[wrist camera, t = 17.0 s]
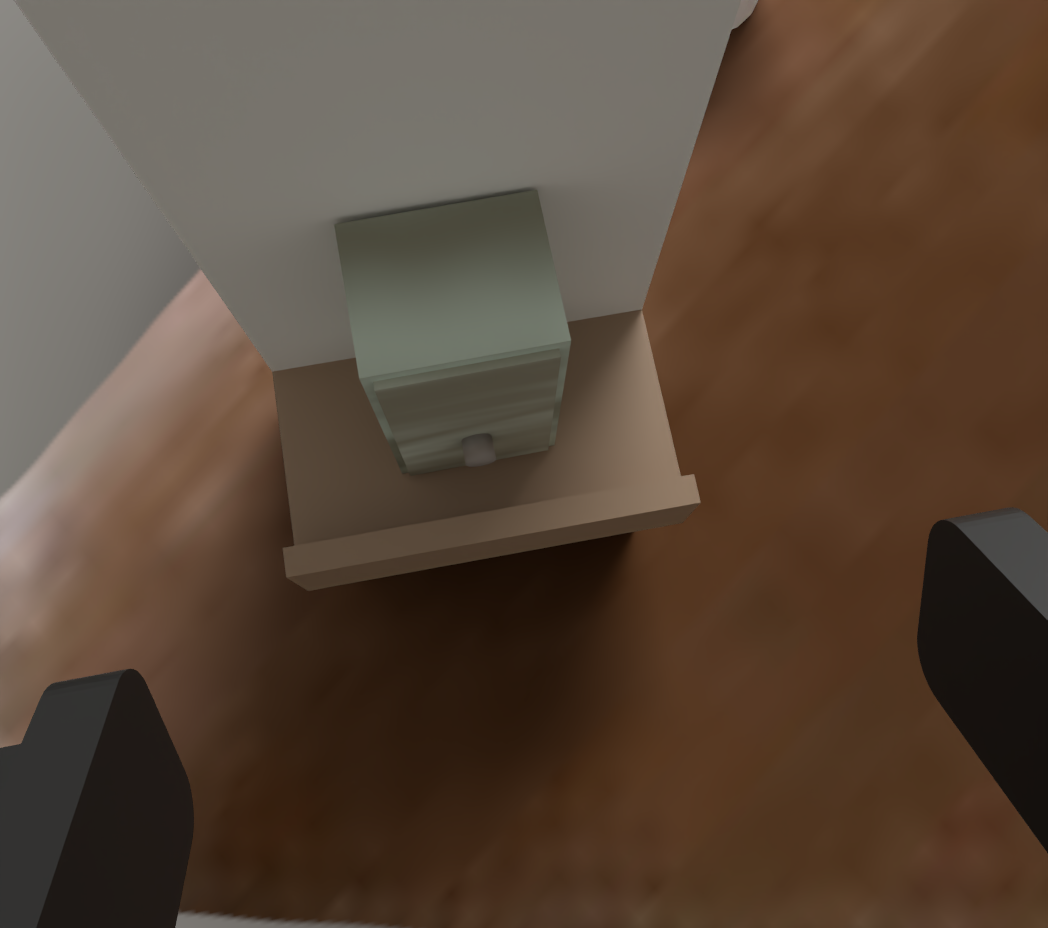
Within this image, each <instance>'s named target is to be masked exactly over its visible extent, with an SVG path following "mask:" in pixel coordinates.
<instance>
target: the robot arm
mask: <svg viewBox="0 0 1048 928" xmlns="http://www.w3.org/2000/svg"><path fill="white" fill-rule="evenodd" d="M917 644H918V653H919V658H920V663H921V666H922V670H923V672H924V675H925V678H926V680H927V683H928V685H929V687H930V689H931V691H932V692H933V694H934V696H935V697H936V699H937V700H938V701H939V703H940V704H941V706H942V707H943V708H944V710H945V711H946V713H947V714H948V715H949V717H950V718H951V719H952V721H953V722H954V724H955V725H956V726H957V728H958V729H959V731H960V732H961V733H962V735H963V736H964V738H965V739H966V740H967V742H968V743H969V744H970V746H971V747H972V749H973V750H974V751H975V753H976V754H977V756H978V757H979V758H980V760H981V761H982V763H983V764H984V765H985V767H986V768H987V769H988V771H989V772H990V774H991V775H992V776H993V778H994V779H995V781H996V782H997V783H998V785H999V786H1000V787H1001V789H1002V790H1003V792H1004V793H1005V794H1006V796H1007V797H1008V799H1009V800H1010V801H1011V803H1012V804H1013V806H1014V807H1015V808H1016V810H1017V811H1018V812H1019V814H1020V815H1021V817H1022V818H1023V819H1024V821H1025V822H1026V824H1027V825H1028V826H1029V828H1030V829H1031V830H1032V832H1033V833H1034V835H1035V836H1036V837H1037V839H1038V840H1039V842H1040V843H1041V844H1042V846H1043V847H1044V849H1045V850H1046V851H1047V853H1048V533H1047V532H1046V531H1045V530H1044V529H1043V528H1042V527H1041V526H1040V525H1039V524H1037V523H1036V522H1035V521H1034V520H1033V519H1032V518H1031V517H1030V516H1029V515H1027V514H1026V513H1025V512H1023V511H1021V510H1020V509H1017V508H1013V507H1012V508H1004V509H999V510H993V511H988V512H982V513H977V514H972V515H966V516H961V517H956V518H950V519H945V520H940V521H938V522H936V523H935V524H934V526H933V527H932V529H931V531H930V534H929V539H928V546H927V555H926V564H925V572H924V581H923V590H922V598H921V607H920V616H919V625H918V634H917ZM193 828H194V813H193V800H192V794H191V789H190V784H189V781H188V777H187V775H186V772H185V770H184V767H183V765H182V763H181V761H180V758H179V756H178V754H177V752H176V749H175V747H174V745H173V743H172V740H171V738H170V736H169V734H168V731H167V729H166V727H165V725H164V722H163V720H162V718H161V716H160V713H159V711H158V709H157V707H156V704H155V702H154V700H153V698H152V695H151V693H150V691H149V689H148V686H147V684H146V682H145V680H144V679H143V677H142V676H141V674H140V673H139V672H138V671H136V670H134V669H126V670H121V671H115V672H110V673H104V674H99V675H94V676H88V677H83V678H78V679H72V680H67V681H61V682H56V683H53V684H51V685H50V686H48V687H47V689H46V690H45V691H44V693H43V695H42V696H41V699H40V701H39V703H38V706H37V708H36V710H35V713H34V715H33V717H32V720H31V722H30V724H29V727H28V729H27V731H26V734H25V736H24V738H23V741H22V743H21V744H19V745H13V746H8V747H3V748H0V928H175V926H176V920H177V915H178V910H179V905H180V900H181V895H182V890H183V885H184V880H185V875H186V869H187V864H188V859H189V854H190V849H191V844H192V838H193Z"/></svg>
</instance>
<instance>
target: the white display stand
mask: <svg viewBox="0 0 1048 928" xmlns="http://www.w3.org/2000/svg"><path fill="white" fill-rule="evenodd" d="M14 1H15V2H16V4H17V5H18V7H19V8H20V10H21V11H22V12H23V14H24V15H25V17H26V18H27V20H28V21H29V22H30V24H31V25H32V27H33V28H34V29H35V31H36V33H37V34H38V35H39V37H40V38H41V40H42V41H43V43H44V44H45V45H46V47H47V48H48V50H49V51H50V53H51V54H52V56H53V57H54V59H55V60H56V61H57V63H58V64H59V66H60V67H61V68H62V70H63V71H64V72H65V74H66V76H67V77H68V79H69V80H70V82H71V83H72V84H73V86H74V87H75V89H76V90H77V92H78V93H79V94H80V96H81V97H82V99H83V100H84V102H85V103H86V105H87V106H88V107H89V109H90V110H91V111H92V113H93V115H94V116H95V117H96V119H97V120H98V122H99V123H100V125H101V126H102V127H103V129H104V130H105V132H106V133H107V135H108V136H109V138H110V139H111V140H112V142H113V143H114V145H115V146H116V148H117V149H118V151H119V152H120V153H121V155H122V156H123V158H124V159H125V160H126V162H127V163H128V165H129V166H130V168H131V169H132V171H133V172H134V174H135V175H136V176H137V178H138V179H139V181H140V182H141V184H142V185H143V186H144V188H145V189H146V191H147V192H148V194H149V195H150V197H151V198H152V199H153V201H154V202H155V204H156V205H157V207H158V208H159V209H160V211H161V212H162V214H163V215H164V217H165V218H166V220H167V221H168V222H169V224H170V225H171V227H172V228H173V230H174V231H175V232H176V234H177V235H178V237H179V238H180V239H181V241H182V242H183V244H184V245H185V247H186V248H187V250H188V251H189V252H190V254H191V255H192V257H193V258H194V260H195V261H196V263H197V264H198V266H199V267H200V268H201V270H202V271H203V273H204V274H205V276H206V277H207V278H208V280H209V281H210V283H211V284H212V286H213V287H214V289H215V290H216V291H217V293H218V294H219V296H220V297H221V299H222V300H223V301H224V303H225V304H226V306H227V307H228V309H229V310H230V312H231V313H232V314H233V316H234V317H235V319H236V320H237V322H238V323H239V324H240V326H241V327H242V329H243V330H244V332H245V333H246V335H247V336H248V337H249V339H250V340H251V342H252V343H253V345H254V346H255V347H256V349H257V350H258V352H259V353H260V355H261V356H262V358H263V359H264V360H265V362H266V363H267V365H268V366H269V368H270V369H271V370H272V373H273V381H274V389H275V397H276V405H277V413H278V421H279V429H280V436H281V444H282V452H283V460H284V468H285V476H286V484H287V492H288V500H289V508H290V516H291V524H292V531H293V539H294V546H291V547H285V548H283V555H284V564H285V572H286V578H288V579H289V580H291V581H293V582H294V583H296V584H298V585H299V586H301V587H302V588H304V589H306V590H307V591H311V590H317V589H322V588H328V587H333V586H339V585H344V584H350V583H355V582H361V581H366V580H371V579H377V578H382V577H388V576H393V575H399V574H404V573H410V572H415V571H421V570H426V569H432V568H437V567H443V566H448V565H454V564H459V563H465V562H470V561H476V560H481V559H487V558H492V557H498V556H503V555H509V554H514V553H520V552H525V551H531V550H536V549H542V548H547V547H553V546H558V545H564V544H569V543H574V542H580V541H585V540H591V539H596V538H602V537H607V536H613V535H618V534H624V533H629V532H635V531H640V530H646V529H651V528H657V527H662V526H668V525H673V524H679V523H683V522H684V521H685V520H686V518H687V517H688V516H689V515H690V514H691V513H692V512H693V511H694V509H695V508H696V507H697V506H698V505H699V504H700V503H701V502H700V498H699V493H698V489H697V485H696V481H695V477H694V474H692V475H687V476H681V475H680V470H679V466H678V462H677V458H676V453H675V449H674V445H673V441H672V436H671V432H670V428H669V423H668V419H667V415H666V411H665V406H664V402H663V398H662V394H661V389H660V385H659V381H658V377H657V372H656V368H655V364H654V360H653V355H652V351H651V347H650V343H649V338H648V334H647V330H646V326H645V321H644V317H643V313H642V307H643V304H644V301H645V298H646V295H647V292H648V288H649V285H650V282H651V279H652V276H653V273H654V270H655V267H656V263H657V260H658V257H659V254H660V251H661V248H662V245H663V242H664V239H665V235H666V232H667V229H668V226H669V223H670V220H671V217H672V214H673V211H674V207H675V204H676V201H677V198H678V195H679V192H680V189H681V186H682V183H683V179H684V176H685V173H686V170H687V167H688V164H689V161H690V158H691V155H692V151H693V148H694V145H695V142H696V139H697V136H698V133H699V130H700V127H701V123H702V120H703V117H704V114H705V111H706V108H707V105H708V102H709V99H710V95H711V92H712V89H713V86H714V83H715V80H716V77H717V74H718V70H719V67H720V64H721V61H722V58H723V55H724V52H725V49H726V46H727V42H728V39H729V36H730V33H731V30H732V27H733V24H734V21H735V18H736V14H737V11H738V8H739V5H740V2H741V0H14ZM533 190H537V191H538V195H539V200H540V204H541V209H542V213H543V217H544V222H545V226H546V231H547V235H548V240H549V244H550V249H551V253H552V257H553V262H554V266H555V271H556V275H557V280H558V284H559V289H560V293H561V297H562V302H563V306H564V311H565V315H566V320H567V324H568V329H569V333H570V337H571V345H570V351H569V357H568V363H567V370H566V376H565V382H564V389H563V395H562V401H561V407H560V414H559V420H558V426H557V432H556V439H555V445H553V446H549V448H548V450H547V451H542V452H536V453H531V454H526V455H520V456H515V457H510V458H504V459H499V460H496V461H494V462H493V463H490V464H487V465H484V466H478V467H469V466H462V467H456V468H451V469H445V470H440V471H435V472H429V473H424V474H419V475H413V476H410V474H409V473H403V474H402V472H401V470H400V468H399V466H398V463H397V461H396V459H395V457H394V455H393V452H392V450H391V448H390V446H389V443H388V441H387V439H386V437H385V435H384V432H383V430H382V428H381V426H380V424H379V421H378V419H377V417H376V415H375V412H374V410H373V408H372V406H371V404H370V401H369V399H368V397H367V395H366V393H365V390H364V388H363V386H362V384H361V382H360V379H359V374H358V368H357V362H356V356H355V350H354V344H353V337H352V331H351V325H350V319H349V313H348V307H347V301H346V294H345V288H344V282H343V276H342V270H341V264H340V258H339V251H338V245H337V239H336V233H335V227H334V224H338V223H344V222H350V221H356V220H362V219H368V218H374V217H380V216H386V215H391V214H397V213H403V212H409V211H415V210H421V209H427V208H433V207H439V206H444V205H450V204H456V203H462V202H468V201H474V200H480V199H486V198H492V197H497V196H503V195H509V194H515V193H521V192H527V191H533Z"/></svg>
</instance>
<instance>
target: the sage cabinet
mask: <svg viewBox="0 0 1048 928" xmlns="http://www.w3.org/2000/svg"><path fill="white" fill-rule="evenodd" d="M334 227H335V233H336V239H337V245H338V251H339V258H340V264H341V270H342V276H343V282H344V288H345V294H346V301H347V307H348V313H349V319H350V325H351V331H352V337H353V344H354V350H355V356H356V362H357V368H358V374H359V379H360V382H361V384H362V386H363V388H364V390H365V393H366V395H367V397H368V399H369V401H370V404H371V406H372V408H373V410H374V412H375V415H376V417H377V419H378V421H379V424H380V426H381V428H382V430H383V432H384V435H385V437H386V439H387V441H388V443H389V446H390V448H391V450H392V452H393V455H394V457H395V459H396V461H397V463H398V466H399V468H400V470H401V472H402V474H403V473H409V474H410V476H413V475H419V474H424V473H429V472H435V471H440V470H445V469H451V468H456V467H462V466H469V467H478V466H484V465H487V464H490V463H493V462H494V461H496V460H499V459H504V458H510V457H515V456H520V455H526V454H531V453H536V452H542V451H547V450H548V448H549V446H553V445H555V439H556V432H557V426H558V420H559V414H560V407H561V401H562V395H563V389H564V382H565V376H566V370H567V363H568V357H569V351H570V345H571V337H570V333H569V329H568V324H567V320H566V315H565V311H564V306H563V302H562V297H561V293H560V289H559V284H558V280H557V275H556V271H555V266H554V262H553V257H552V253H551V249H550V244H549V240H548V235H547V231H546V226H545V222H544V217H543V213H542V209H541V204H540V200H539V195H538V191H537V190H533V191H527V192H521V193H515V194H509V195H503V196H497V197H492V198H486V199H480V200H474V201H468V202H462V203H456V204H450V205H444V206H439V207H433V208H427V209H421V210H415V211H409V212H403V213H397V214H391V215H386V216H380V217H374V218H368V219H362V220H356V221H350V222H344V223H338V224H334Z"/></svg>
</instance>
